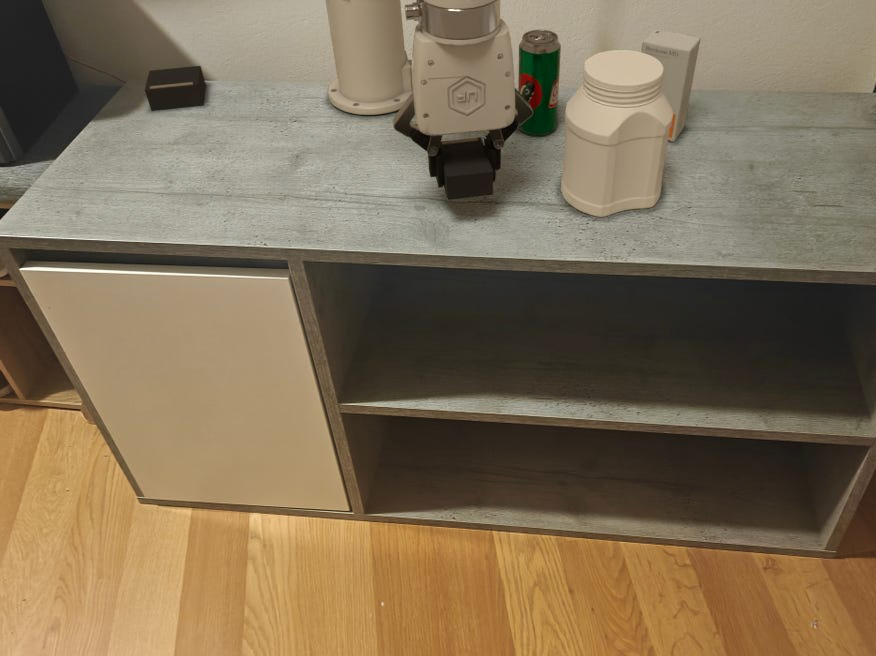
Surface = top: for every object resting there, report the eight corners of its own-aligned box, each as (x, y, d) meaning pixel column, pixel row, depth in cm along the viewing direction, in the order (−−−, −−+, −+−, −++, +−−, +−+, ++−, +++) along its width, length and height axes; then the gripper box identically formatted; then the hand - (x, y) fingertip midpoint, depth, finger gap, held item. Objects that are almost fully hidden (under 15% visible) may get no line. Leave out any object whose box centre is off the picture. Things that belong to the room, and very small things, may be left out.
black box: (481, 160, 92) (481, 136, 90) (493, 195, 87) (493, 170, 85) (438, 165, 91) (436, 140, 89) (447, 200, 86) (446, 175, 84)
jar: (638, 161, 98) (654, 40, 88) (673, 203, 92) (695, 78, 81) (549, 177, 96) (555, 55, 86) (579, 222, 90) (589, 96, 79)
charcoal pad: (206, 85, 115) (200, 64, 113) (203, 105, 111) (197, 84, 109) (155, 90, 114) (149, 69, 112) (151, 110, 110) (144, 89, 108)
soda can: (557, 137, 103) (562, 45, 94) (517, 138, 103) (519, 46, 95) (555, 118, 106) (560, 27, 98) (517, 118, 107) (518, 28, 98)
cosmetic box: (629, 133, 103) (640, 41, 95) (640, 118, 106) (652, 27, 98) (675, 143, 101) (690, 50, 93) (685, 128, 104) (701, 36, 95)
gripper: (373, 38, 72) (391, 206, 85) (558, 22, 74) (547, 188, 87) (366, 4, 77) (384, 167, 91) (539, -11, 79) (532, 151, 93)
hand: (464, 176), depth 89 cm, fingers closed on black box, 5 cm apart
